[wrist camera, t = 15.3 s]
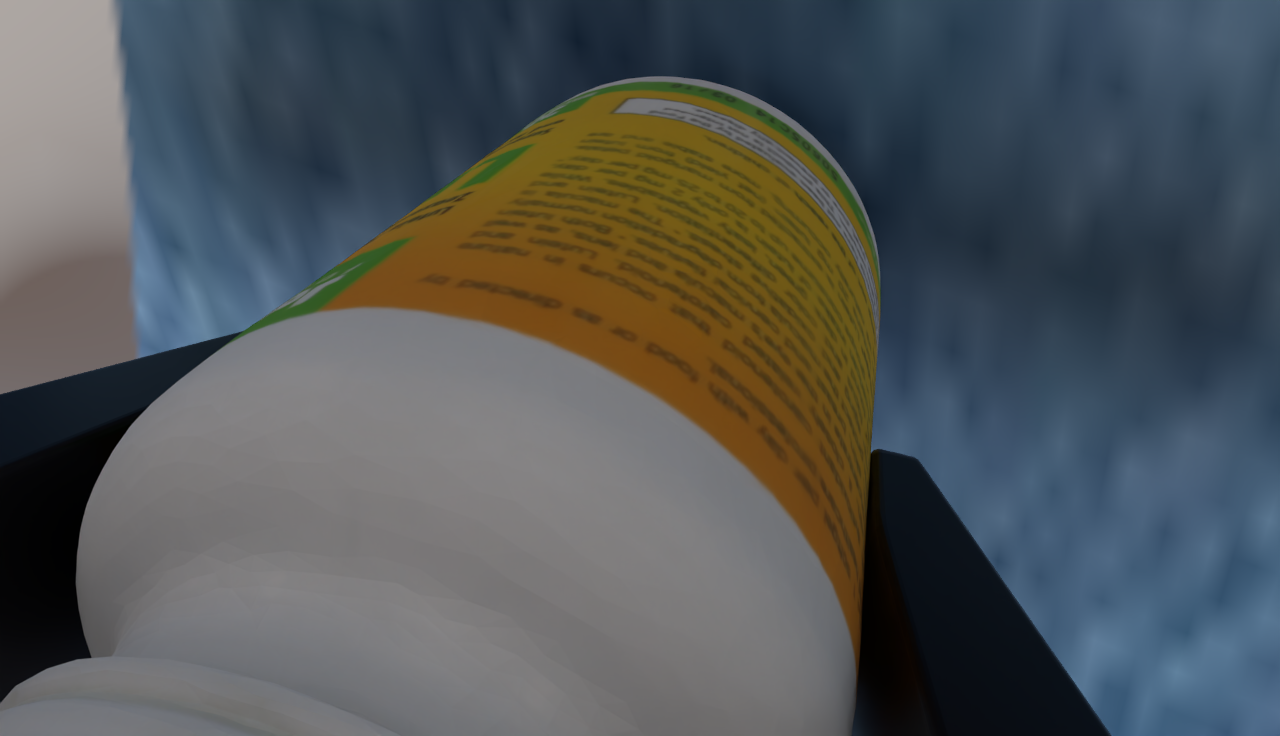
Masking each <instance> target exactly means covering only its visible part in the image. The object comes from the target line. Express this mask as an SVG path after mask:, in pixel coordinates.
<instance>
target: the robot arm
mask: <svg viewBox="0 0 1280 736" xmlns="http://www.w3.org/2000/svg"><path fill="white" fill-rule="evenodd" d="M242 332H243V331H242ZM242 332H238V333H234V334H231V335H227V336H223V337H219V338H215V339H211V340H208V341H204V342H200V343H196V344H192V345H188V346H184V347H181V348H177V349H173V350H169V351H165V352H161V353H158V354H154V355H150V356H146V357H142V358H138V359H134V360H131V361H127V362H123V363H119V364H115V365H112V366H108V367H104V368H100V369H96V370H93V371H88V372H84V373H81V374H77V375H73V376H69V377H65V378H62V379H58V380H54V381H50V382H46V383H42V384H38V385H35V386H31V387H27V388H23V389H19V390H15V391H11V392H8V393H4V394H0V703H1V702H2V701H3V700H4V699H5V697H6V696H7V695H8V694H9V693H10V692H11V691H12V689H13V688H14V687H15V686H16V685H18V684H20V683H22V682H24V681H26V680H27V679H29V678H31V677H33V676H35V675H36V674H38V673H40V672H42V671H44V670H46V669H47V668H51V667H54V666H57V665H61V664H64V663H67V662H70V661H74V660H77V659H88V658H92V657H91V654H90V651H89V648H88V645H87V642H86V639H85V636H84V632H83V627H82V622H81V618H80V613H79V608H78V599H77V590H76V567H77V551H78V545H79V536H80V529H81V525H82V520H83V516H84V513H85V509H86V505H87V503H88V500H89V498H90V495H91V493H92V490H93V488H94V485H95V483H96V481H97V479H98V477H99V475H100V473H101V471H102V469H103V468H104V466H105V464H106V462H107V461H108V459H109V457H110V455H111V453H112V452H113V450H114V448H115V447H116V446H117V444H118V443H119V441H120V440H121V439H122V437H123V436H124V434H125V433H126V432H127V430H128V429H129V427H130V426H131V425H132V424H133V423H134V422H135V420H136V419H137V418H138V417H139V416H140V415H141V414H142V413H143V412H144V411H145V410H146V409H147V408H148V407H149V406H150V405H151V404H152V403H153V402H154V401H155V400H156V399H157V398H159V397H160V396H161V395H162V394H163V393H165V392H166V391H167V390H168V389H169V388H170V387H172V386H173V385H174V384H175V383H176V382H178V381H179V380H180V379H181V378H183V377H184V376H185V375H187V374H188V373H189V372H190V371H192V370H193V369H194V368H196V367H197V366H198V365H200V364H201V363H202V362H203V361H205V360H206V359H207V358H209V357H210V356H211V355H213V354H214V353H215V352H217V351H218V350H219V349H221V348H222V347H223V346H225V345H226V344H227V343H229V342H230V341H231V340H233V339H234V338H235V337H237V336H238V335H239V334H241V333H242ZM852 736H1111V734H1110V733H1109V731H1108V730H1107V729H1106V727H1105V726H1104V724H1103V723H1102V721H1101V720H1100V719H1099V717H1098V716H1097V714H1096V713H1095V711H1094V710H1093V709H1092V707H1091V706H1090V704H1089V703H1088V701H1087V700H1086V699H1085V697H1084V696H1083V694H1082V693H1081V691H1080V690H1079V688H1078V687H1077V686H1076V684H1075V683H1074V681H1073V680H1072V678H1071V677H1070V676H1069V674H1068V673H1067V671H1066V670H1065V668H1064V667H1063V666H1062V664H1061V663H1060V661H1059V660H1058V658H1057V657H1056V656H1055V654H1054V653H1053V651H1052V650H1051V648H1050V647H1049V646H1048V644H1047V643H1046V641H1045V640H1044V638H1043V637H1042V636H1041V634H1040V633H1039V631H1038V630H1037V628H1036V627H1035V626H1034V624H1033V623H1032V621H1031V620H1030V618H1029V617H1028V615H1027V614H1026V613H1025V611H1024V610H1023V608H1022V607H1021V605H1020V604H1019V603H1018V601H1017V600H1016V598H1015V597H1014V595H1013V594H1012V593H1011V591H1010V590H1009V588H1008V587H1007V585H1006V584H1005V583H1004V581H1003V580H1002V578H1001V577H1000V575H999V574H998V573H997V571H996V570H995V568H994V567H993V565H992V564H991V563H990V561H989V560H988V558H987V557H986V555H985V554H984V553H983V551H982V550H981V548H980V547H979V545H978V544H977V542H976V541H975V540H974V538H973V537H972V535H971V534H970V532H969V531H968V530H967V528H966V527H965V525H964V524H963V522H962V521H961V520H960V518H959V517H958V515H957V514H956V512H955V511H954V510H953V508H952V507H951V505H950V504H949V502H948V501H947V500H946V498H945V497H944V495H943V494H942V492H941V491H940V490H939V488H938V487H937V485H936V484H935V482H934V481H933V480H932V478H931V477H930V475H929V474H928V472H927V471H926V469H925V468H924V467H923V465H922V464H921V463H920V461H919V460H918V459H916V458H914V457H912V456H908V455H903V454H899V453H895V452H890V451H886V450H882V449H876V450H874V451H873V452H872V453H871V457H870V478H869V493H868V509H867V524H866V542H865V565H864V584H863V602H862V631H861V645H860V659H859V673H858V687H857V700H856V708H855V714H854V720H853V726H852Z"/></svg>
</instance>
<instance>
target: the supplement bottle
mask: <svg viewBox="0 0 1280 736" xmlns="http://www.w3.org/2000/svg"><path fill="white" fill-rule="evenodd" d="M880 307H881V287H880V266H879V257H878V250H877V245H876V240H875V236H874V233H873V230H872V227H871V224H870V221H869V218H868V215H867V213H866V210H865V208H864V206H863V203H862V201H861V199H860V197H859V195H858V193H857V191H856V189H855V187H854V186H853V184H852V183H851V181H850V180H849V178H848V176H847V175H846V174H845V172H844V171H843V169H842V168H841V167H840V165H839V164H838V163H837V161H836V160H835V159H834V158H833V157H832V155H831V154H830V153H829V152H828V151H827V150H826V149H825V148H824V147H823V146H822V145H821V144H820V143H819V142H818V141H817V140H816V139H815V138H814V137H813V136H812V135H811V134H810V133H809V132H808V131H807V130H805V129H804V128H803V127H802V126H801V125H800V124H798V123H797V122H796V121H794V120H793V119H791V118H790V117H789V116H787V115H786V114H784V113H783V112H781V111H780V110H778V109H776V108H774V107H773V106H771V105H769V104H768V103H766V102H764V101H762V100H760V99H758V98H756V97H754V96H752V95H749V94H747V93H745V92H742V91H740V90H736V89H733V88H730V87H727V86H724V85H720V84H716V83H712V82H708V81H704V80H698V79H690V78H681V77H668V76H655V77H641V78H632V79H624V80H620V81H616V82H612V83H608V84H603V85H600V86H598V87H595V88H592V89H590V90H587V91H585V92H582V93H580V94H578V95H576V96H574V97H572V98H570V99H568V100H566V101H565V102H563V103H561V104H559V105H557V106H556V107H554V108H552V109H551V110H549V111H547V112H546V113H544V114H542V115H541V116H540V117H538V118H537V119H536V120H534V121H533V122H531V123H530V124H528V125H527V126H526V127H524V128H523V129H522V130H521V131H519V132H518V133H517V134H515V135H514V136H513V137H512V138H510V139H509V140H508V141H506V142H505V143H504V144H502V145H501V146H500V147H498V148H497V149H495V150H494V151H492V152H491V153H490V154H488V155H487V156H485V157H484V158H483V159H482V160H480V161H479V162H478V163H476V164H475V165H473V166H472V167H471V168H469V169H468V170H467V171H465V172H464V173H463V174H461V175H460V176H459V177H457V178H456V179H455V180H453V181H452V182H450V183H449V184H448V185H446V186H445V187H444V188H442V189H441V190H439V191H438V192H437V193H435V194H434V195H432V196H431V197H430V198H428V199H427V200H426V201H424V202H423V203H422V204H421V205H419V206H418V207H417V208H415V209H414V210H413V211H411V212H410V213H409V214H407V215H406V216H404V217H403V218H402V219H400V220H399V221H397V222H396V223H395V224H393V225H392V226H390V227H389V228H388V229H386V230H385V231H384V232H382V233H381V234H379V235H378V236H377V237H375V238H374V239H373V240H371V241H370V242H369V243H367V244H366V245H364V246H363V247H362V248H360V249H359V250H358V251H356V252H355V253H354V254H352V255H351V256H349V257H348V258H347V259H345V260H344V261H343V262H341V263H340V264H339V265H337V266H336V267H334V268H333V269H332V270H330V271H329V272H327V273H326V274H325V275H323V276H322V277H320V278H319V279H318V280H316V281H315V282H313V283H312V284H311V285H309V286H308V287H307V288H305V289H304V290H302V291H301V292H300V293H298V294H297V295H295V296H294V297H292V298H291V299H289V300H288V301H287V302H285V303H284V304H282V305H281V306H279V307H278V308H276V309H275V310H273V311H272V312H271V313H269V314H268V315H266V316H265V317H264V318H262V319H261V320H260V321H258V322H257V323H255V324H253V325H252V326H250V327H249V328H248V329H246V330H245V331H243V332H242V333H241V334H239V335H238V336H237V337H235V338H234V339H233V340H231V341H230V342H229V343H227V344H226V345H225V346H223V347H222V348H221V349H219V350H218V351H217V352H215V353H214V354H213V355H211V356H210V357H209V358H207V359H206V360H205V361H203V362H202V363H201V364H200V365H198V366H197V367H196V368H194V369H193V370H192V371H190V372H189V373H188V374H187V375H185V376H184V377H183V378H181V379H180V380H179V381H178V382H176V383H175V384H174V385H173V386H172V387H170V388H169V389H168V390H167V391H166V392H165V393H163V394H162V395H161V396H160V397H159V398H157V399H156V400H155V401H154V402H153V403H152V404H151V405H150V406H149V407H148V408H147V409H146V410H145V411H144V412H143V413H142V414H141V415H140V416H139V417H138V418H137V419H136V420H135V422H134V423H133V424H132V425H131V426H130V427H129V429H128V430H127V432H126V433H125V434H124V436H123V437H122V439H121V440H120V441H119V443H118V444H117V446H116V447H115V448H114V450H113V452H112V453H111V455H110V457H109V459H108V461H107V462H106V464H105V466H104V468H103V469H102V471H101V473H100V475H99V477H98V479H97V481H96V483H95V485H94V488H93V490H92V493H91V495H90V498H89V500H88V503H87V505H86V509H85V513H84V516H83V520H82V525H81V529H80V536H79V545H78V551H77V567H76V590H77V599H78V608H79V613H80V618H81V622H82V627H83V632H84V636H85V639H86V642H87V645H88V648H89V651H90V654H91V657H92V658H88V659H77V660H74V661H70V662H67V663H64V664H61V665H57V666H54V667H51V668H47V669H46V670H44V671H42V672H40V673H38V674H36V675H35V676H33V677H31V678H29V679H27V680H26V681H24V682H22V683H20V684H18V685H16V686H15V687H14V688H13V689H12V691H11V692H10V693H9V694H8V695H7V696H6V697H5V699H4V700H3V701H2V702H1V703H0V736H852V726H853V720H854V714H855V708H856V700H857V687H858V673H859V659H860V645H861V631H862V602H863V584H864V565H865V542H866V524H867V509H868V493H869V478H870V457H871V439H872V424H873V409H874V395H875V381H876V365H877V353H878V341H879V325H880Z"/></svg>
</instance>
